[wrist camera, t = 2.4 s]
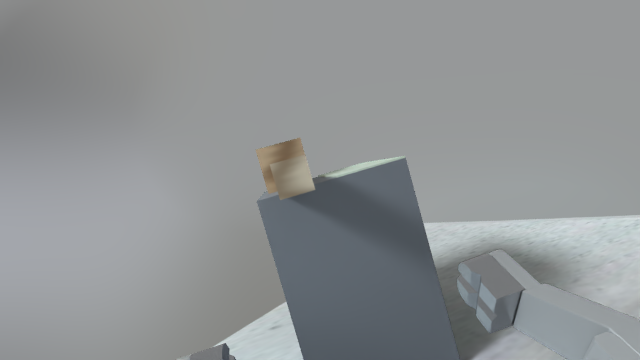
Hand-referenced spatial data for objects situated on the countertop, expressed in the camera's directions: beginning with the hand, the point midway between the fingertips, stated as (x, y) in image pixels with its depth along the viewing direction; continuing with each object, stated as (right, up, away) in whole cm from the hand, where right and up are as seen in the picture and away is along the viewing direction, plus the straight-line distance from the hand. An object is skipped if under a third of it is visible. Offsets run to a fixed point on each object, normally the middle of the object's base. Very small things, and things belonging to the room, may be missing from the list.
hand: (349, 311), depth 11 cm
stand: (+6, -19, +34) cm, 39 cm away
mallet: (-4, +3, +27) cm, 28 cm away
